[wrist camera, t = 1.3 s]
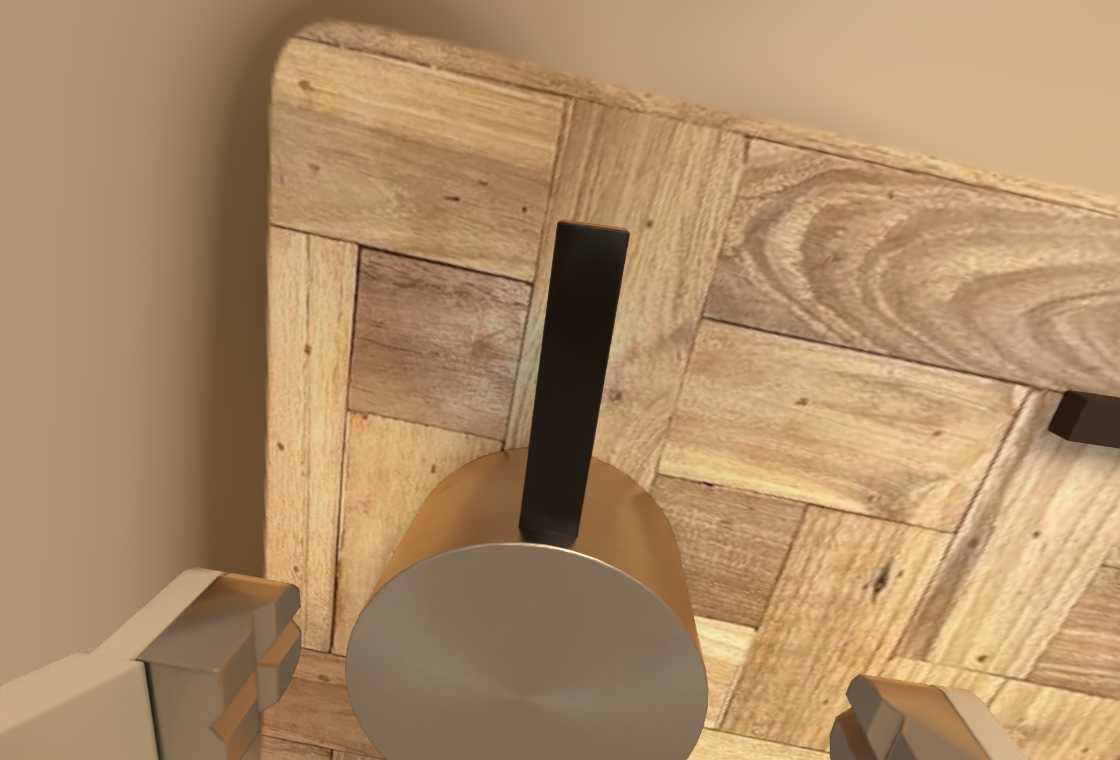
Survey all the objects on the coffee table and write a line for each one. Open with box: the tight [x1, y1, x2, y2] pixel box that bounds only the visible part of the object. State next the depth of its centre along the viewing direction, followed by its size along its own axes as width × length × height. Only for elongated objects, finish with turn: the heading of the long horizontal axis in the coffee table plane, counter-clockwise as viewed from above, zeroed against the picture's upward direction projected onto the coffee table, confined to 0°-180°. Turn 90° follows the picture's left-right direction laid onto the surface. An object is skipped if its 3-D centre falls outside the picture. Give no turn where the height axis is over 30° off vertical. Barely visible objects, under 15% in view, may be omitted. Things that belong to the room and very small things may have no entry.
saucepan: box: [345, 220, 708, 760], centre depth 21 cm, size 23×13×7 cm, turn 172°
